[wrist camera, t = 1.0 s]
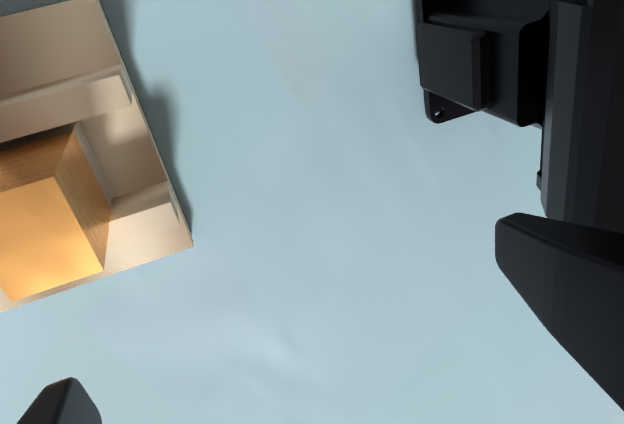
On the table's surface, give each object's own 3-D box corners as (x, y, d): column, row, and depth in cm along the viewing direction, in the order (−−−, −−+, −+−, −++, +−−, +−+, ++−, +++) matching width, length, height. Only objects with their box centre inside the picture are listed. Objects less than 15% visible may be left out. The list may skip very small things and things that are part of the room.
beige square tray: (96, -6, 16) (88, -2, 14) (191, 235, 21) (198, 272, 19) (-220, 68, 14) (-297, 90, 12) (-35, 311, 19) (-61, 363, 17)
